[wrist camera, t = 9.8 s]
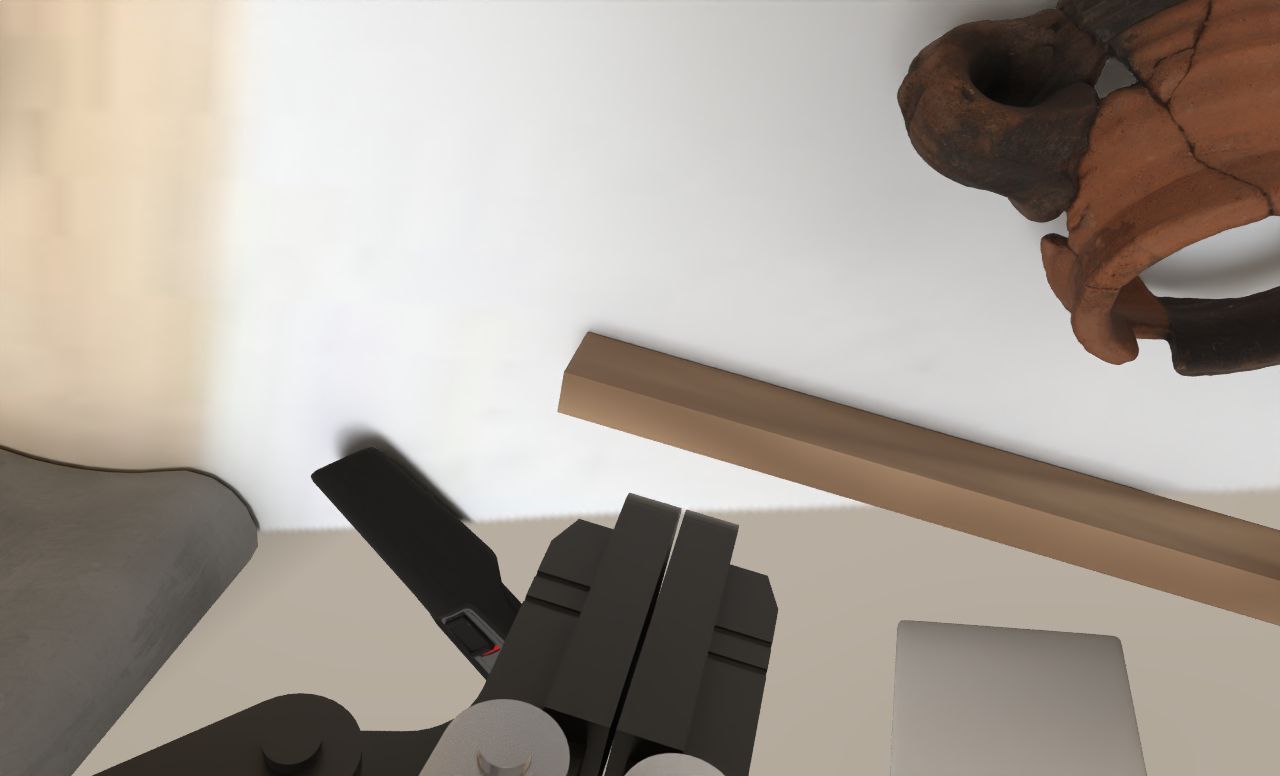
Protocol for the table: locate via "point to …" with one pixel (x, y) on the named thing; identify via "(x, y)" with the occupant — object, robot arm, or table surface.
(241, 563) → the flask
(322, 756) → the robot arm
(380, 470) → the electric trimmer
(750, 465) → the lane rails
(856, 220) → the table surface
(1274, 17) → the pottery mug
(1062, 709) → the milk carton
